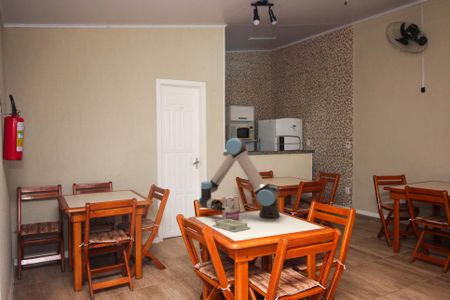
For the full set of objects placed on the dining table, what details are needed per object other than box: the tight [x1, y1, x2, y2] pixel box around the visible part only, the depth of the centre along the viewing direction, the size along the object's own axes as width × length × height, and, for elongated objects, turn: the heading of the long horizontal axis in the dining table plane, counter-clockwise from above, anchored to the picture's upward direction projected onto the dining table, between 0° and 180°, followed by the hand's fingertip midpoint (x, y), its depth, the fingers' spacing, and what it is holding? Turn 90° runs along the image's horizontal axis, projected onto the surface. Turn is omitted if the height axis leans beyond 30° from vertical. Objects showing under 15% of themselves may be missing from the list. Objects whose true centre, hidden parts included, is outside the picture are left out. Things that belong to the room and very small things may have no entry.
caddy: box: [212, 219, 251, 233], centre depth 224 cm, size 14×20×4 cm
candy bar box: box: [221, 195, 240, 221], centre depth 240 cm, size 11×5×16 cm, turn 126°
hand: (235, 208), depth 237 cm, fingers closed on candy bar box, 11 cm apart
